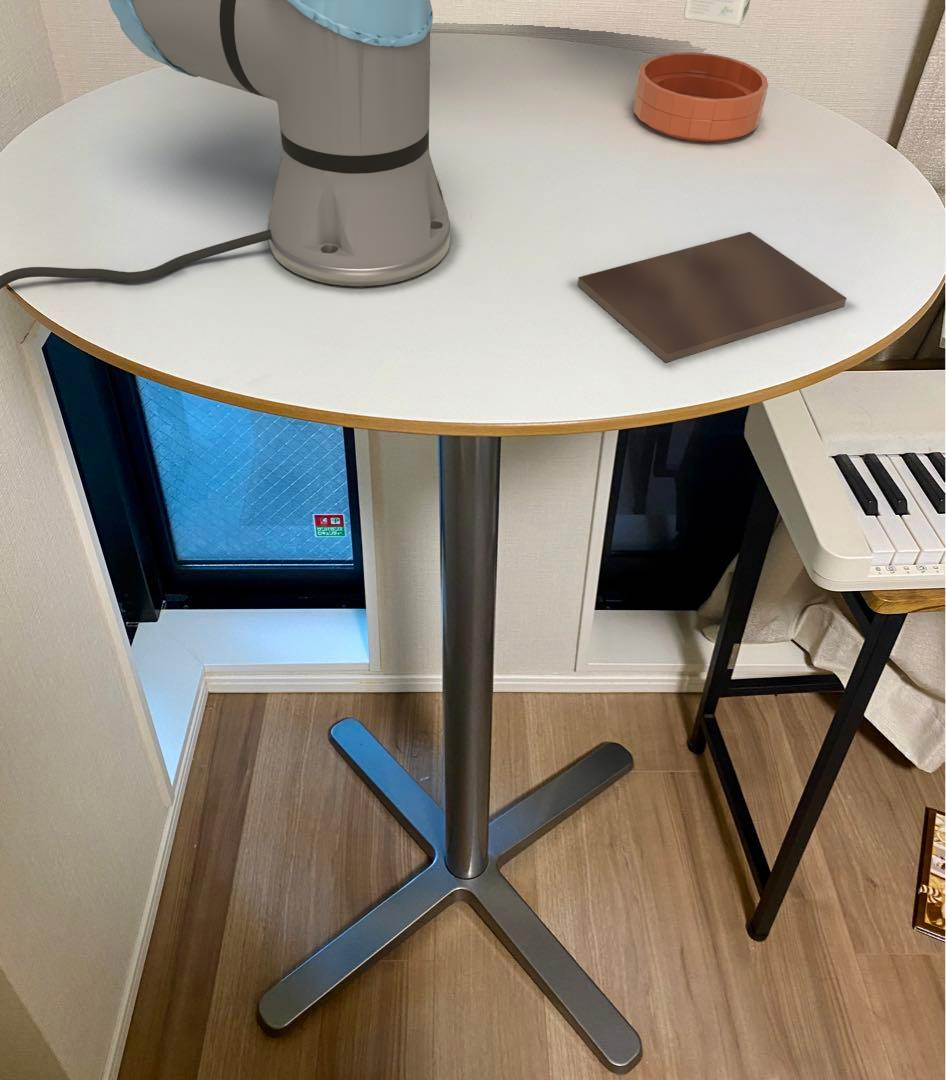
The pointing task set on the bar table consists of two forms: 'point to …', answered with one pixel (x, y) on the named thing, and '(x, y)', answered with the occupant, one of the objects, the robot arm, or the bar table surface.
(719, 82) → the bowl
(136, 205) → the bar table surface
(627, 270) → the mat
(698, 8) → the syrup box
